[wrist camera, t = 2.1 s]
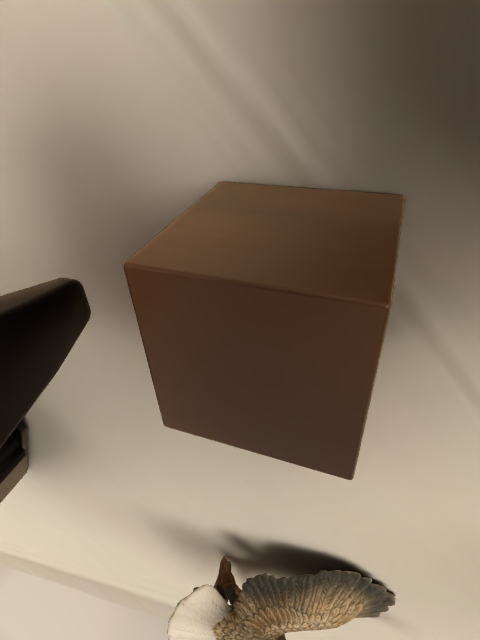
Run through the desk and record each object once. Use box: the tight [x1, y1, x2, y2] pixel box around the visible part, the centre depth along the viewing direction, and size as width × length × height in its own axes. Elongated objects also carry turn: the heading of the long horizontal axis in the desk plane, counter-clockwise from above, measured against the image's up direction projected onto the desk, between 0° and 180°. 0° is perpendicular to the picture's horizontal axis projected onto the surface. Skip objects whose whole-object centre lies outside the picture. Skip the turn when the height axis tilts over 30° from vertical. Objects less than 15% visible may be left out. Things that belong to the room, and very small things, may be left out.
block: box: [124, 182, 405, 480], centre depth 8 cm, size 4×4×4 cm
